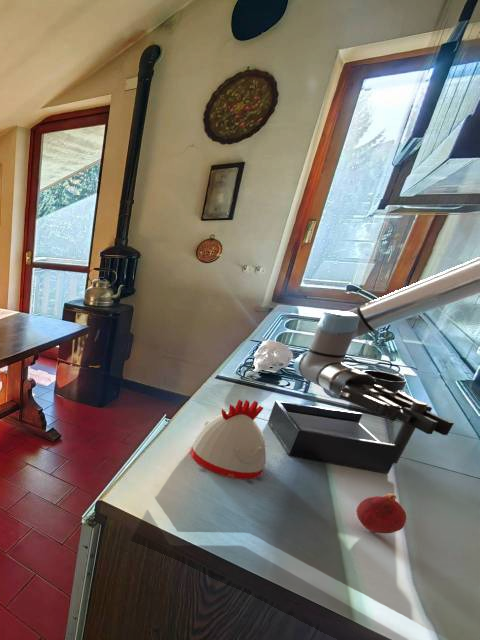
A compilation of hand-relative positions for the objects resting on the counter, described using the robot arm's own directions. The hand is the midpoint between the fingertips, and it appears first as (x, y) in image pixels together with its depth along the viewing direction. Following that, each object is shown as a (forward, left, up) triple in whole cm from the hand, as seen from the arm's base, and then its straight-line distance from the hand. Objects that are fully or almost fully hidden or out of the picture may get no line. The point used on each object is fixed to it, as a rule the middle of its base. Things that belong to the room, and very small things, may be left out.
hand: (440, 428), depth 76 cm
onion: (-17, +20, -13) cm, 29 cm away
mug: (+41, -24, -13) cm, 50 cm away
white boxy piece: (+13, +7, -12) cm, 19 cm away
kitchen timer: (+3, +35, -13) cm, 38 cm away
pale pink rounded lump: (+70, -10, -13) cm, 72 cm away
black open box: (+13, +8, -13) cm, 20 cm away
